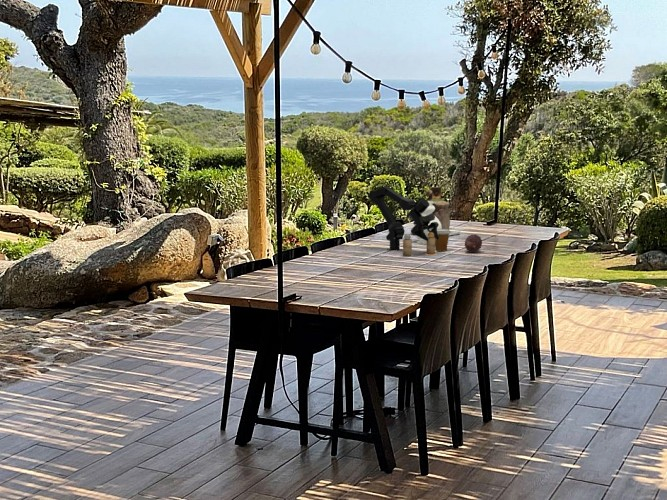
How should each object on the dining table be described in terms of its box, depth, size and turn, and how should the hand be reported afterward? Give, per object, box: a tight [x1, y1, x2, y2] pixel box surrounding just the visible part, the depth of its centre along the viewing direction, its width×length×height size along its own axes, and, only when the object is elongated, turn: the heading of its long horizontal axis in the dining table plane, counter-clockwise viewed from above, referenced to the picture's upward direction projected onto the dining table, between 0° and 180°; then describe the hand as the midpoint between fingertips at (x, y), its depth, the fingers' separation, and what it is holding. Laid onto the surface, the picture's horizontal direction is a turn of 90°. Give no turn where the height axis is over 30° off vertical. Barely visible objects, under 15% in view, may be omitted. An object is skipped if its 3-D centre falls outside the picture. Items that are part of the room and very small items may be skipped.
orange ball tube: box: [425, 232, 436, 256], centre depth 480 cm, size 5×5×12 cm
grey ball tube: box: [402, 233, 413, 258], centre depth 473 cm, size 5×5×12 cm
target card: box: [400, 252, 438, 258], centre depth 477 cm, size 11×22×1 cm, turn 114°
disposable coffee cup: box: [435, 229, 450, 252], centre depth 497 cm, size 10×10×12 cm
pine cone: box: [464, 234, 483, 253], centre depth 492 cm, size 18×10×10 cm, turn 164°
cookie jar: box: [409, 185, 462, 237], centre depth 561 cm, size 25×25×32 cm
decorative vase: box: [411, 201, 442, 245], centre depth 526 cm, size 18×18×25 cm
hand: (433, 239), depth 478 cm, fingers open, 9 cm apart
